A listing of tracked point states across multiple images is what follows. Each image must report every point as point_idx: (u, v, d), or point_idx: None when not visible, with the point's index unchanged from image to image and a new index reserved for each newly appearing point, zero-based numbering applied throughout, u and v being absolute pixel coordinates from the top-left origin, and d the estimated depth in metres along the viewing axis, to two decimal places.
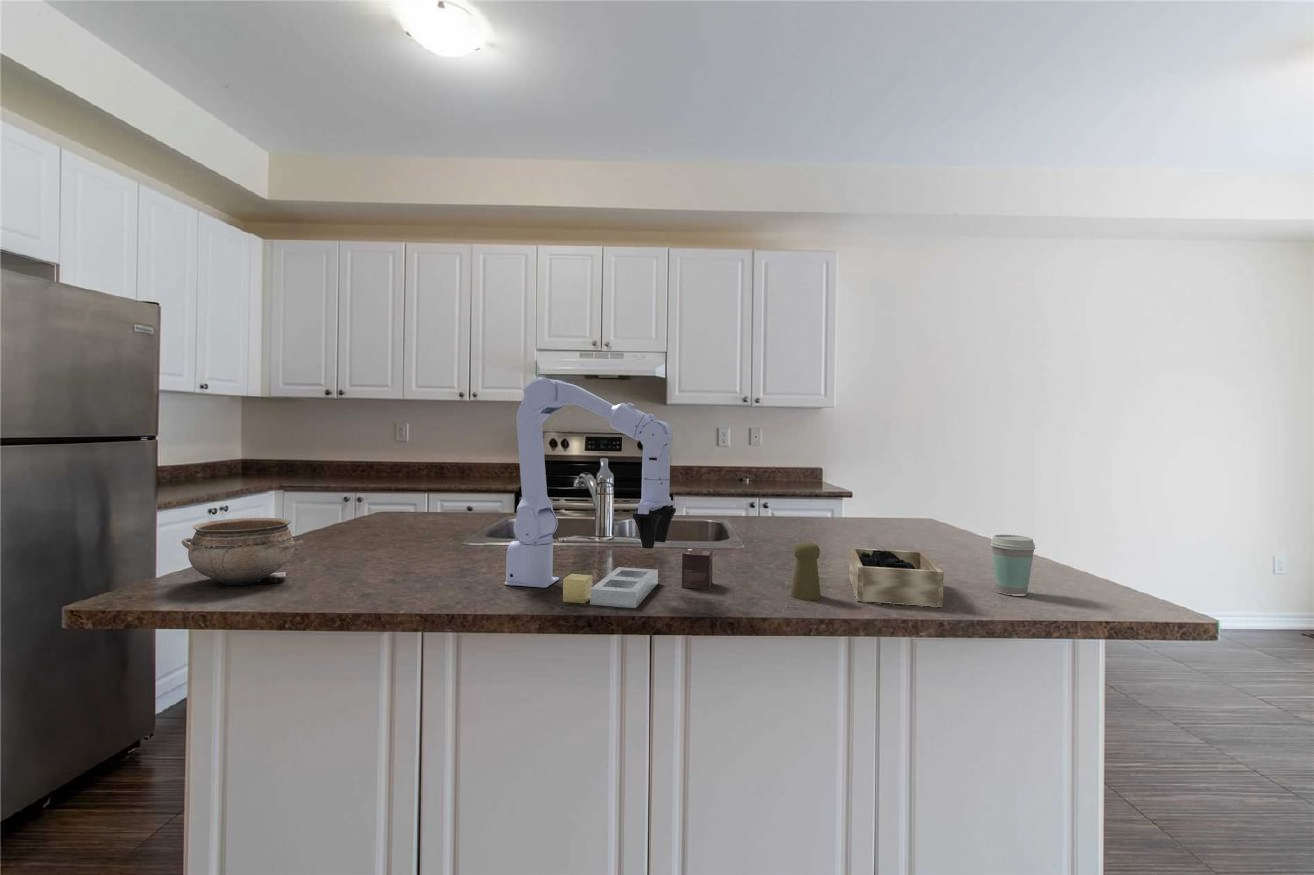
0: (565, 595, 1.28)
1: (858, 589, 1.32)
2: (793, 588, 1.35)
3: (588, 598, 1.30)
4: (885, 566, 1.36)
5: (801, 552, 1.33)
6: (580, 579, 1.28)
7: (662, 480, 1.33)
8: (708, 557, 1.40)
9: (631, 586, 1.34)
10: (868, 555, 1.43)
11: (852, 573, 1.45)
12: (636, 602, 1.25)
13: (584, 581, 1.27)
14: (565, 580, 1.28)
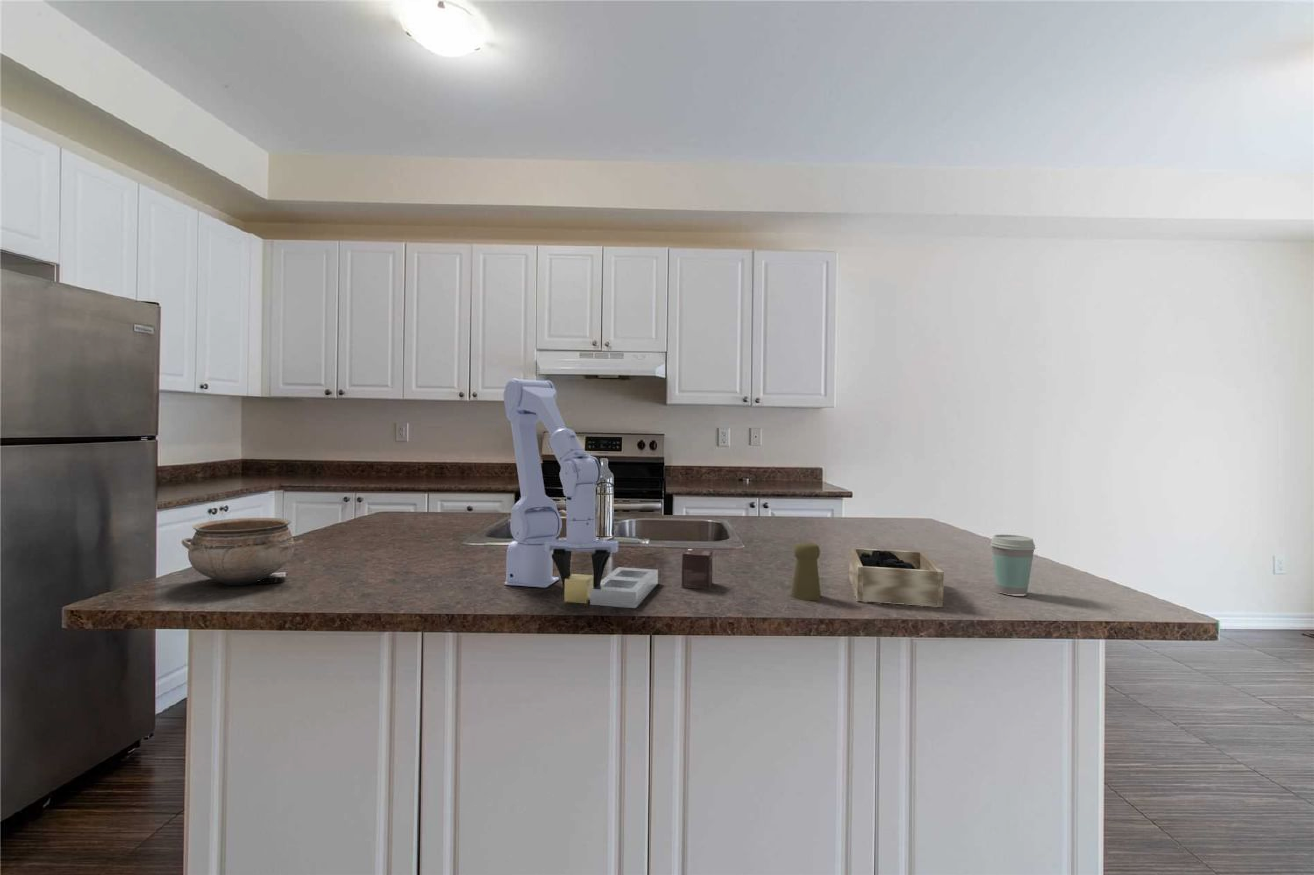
0: (566, 595, 1.28)
1: (858, 589, 1.32)
2: (793, 588, 1.35)
3: (589, 598, 1.30)
4: (884, 566, 1.36)
5: (801, 552, 1.33)
6: (581, 579, 1.28)
7: (568, 520, 1.28)
8: (708, 557, 1.40)
9: (631, 586, 1.34)
10: (868, 555, 1.43)
11: (852, 573, 1.45)
12: (636, 602, 1.25)
13: (585, 581, 1.27)
14: (566, 580, 1.28)
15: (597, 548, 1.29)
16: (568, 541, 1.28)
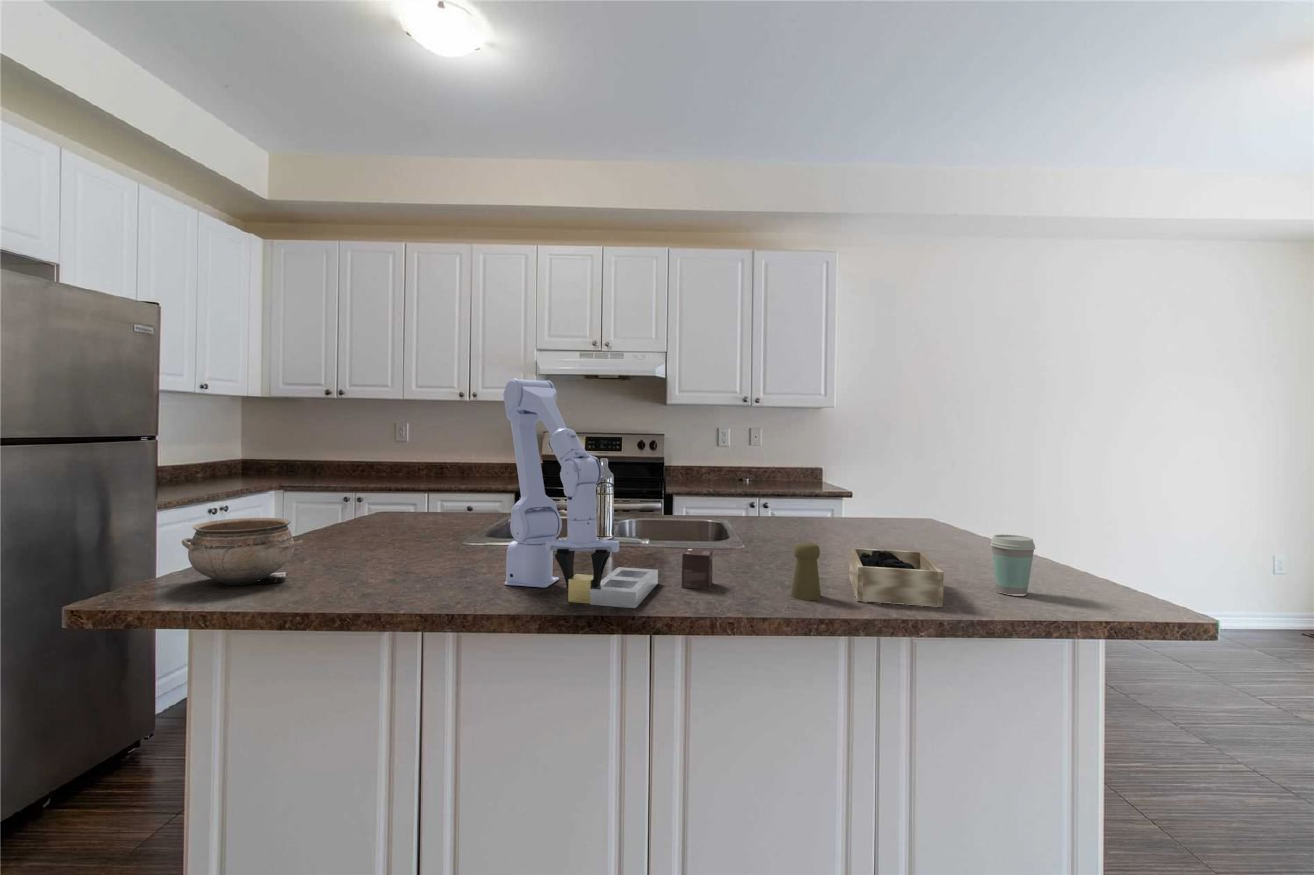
0: (570, 595, 1.28)
1: (858, 589, 1.32)
2: (793, 588, 1.35)
3: None
4: (884, 567, 1.36)
5: (801, 552, 1.33)
6: (585, 579, 1.28)
7: (569, 520, 1.28)
8: (708, 557, 1.40)
9: (631, 586, 1.34)
10: (868, 556, 1.43)
11: (852, 573, 1.45)
12: (636, 602, 1.25)
13: (589, 581, 1.27)
14: (570, 580, 1.28)
15: (598, 548, 1.29)
16: (569, 541, 1.28)
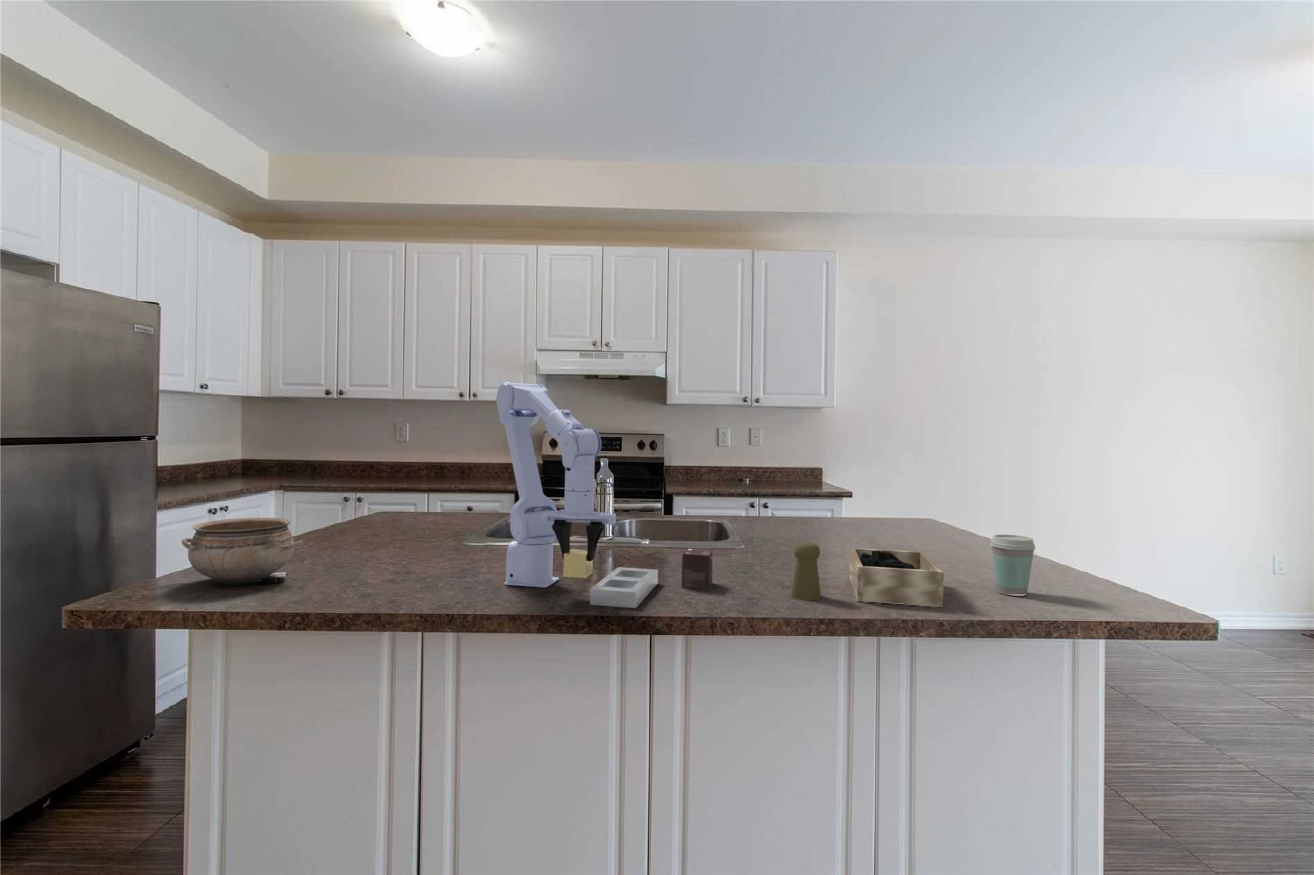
0: (565, 570, 1.28)
1: (858, 589, 1.32)
2: (793, 588, 1.35)
3: (588, 573, 1.30)
4: None
5: (801, 552, 1.33)
6: (581, 554, 1.28)
7: (566, 491, 1.28)
8: (708, 557, 1.40)
9: (631, 586, 1.34)
10: (868, 556, 1.42)
11: (852, 573, 1.45)
12: (636, 602, 1.25)
13: (585, 556, 1.28)
14: (566, 554, 1.28)
15: (595, 520, 1.29)
16: (566, 512, 1.28)
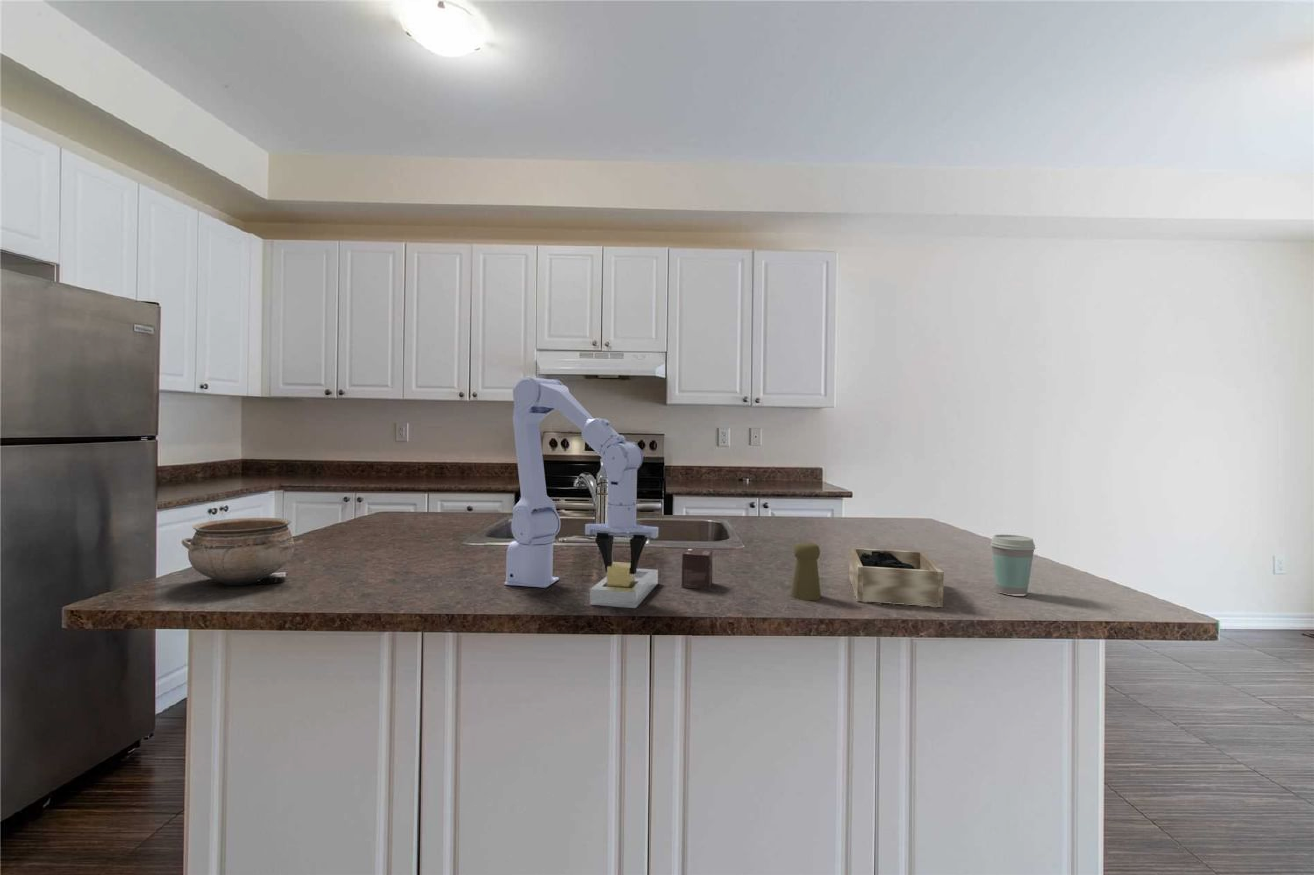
0: (609, 583, 1.29)
1: (858, 589, 1.32)
2: (793, 588, 1.35)
3: (631, 586, 1.30)
4: None
5: (801, 552, 1.33)
6: (624, 567, 1.29)
7: (609, 504, 1.29)
8: (708, 557, 1.40)
9: None
10: (868, 556, 1.42)
11: (852, 573, 1.45)
12: (636, 602, 1.25)
13: (628, 568, 1.28)
14: (609, 567, 1.29)
15: (637, 533, 1.30)
16: (609, 525, 1.29)
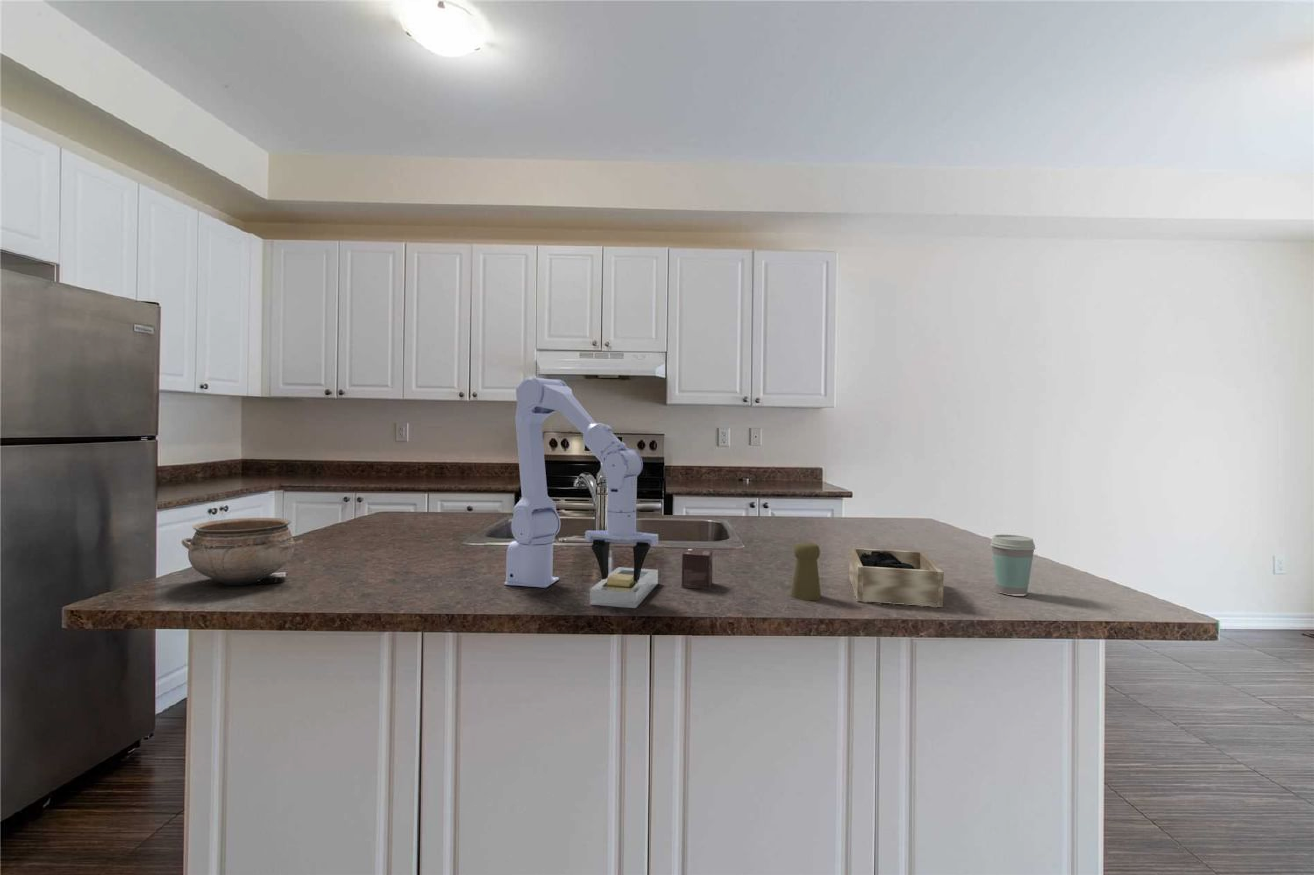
0: None
1: (858, 589, 1.32)
2: (793, 588, 1.35)
3: None
4: None
5: (801, 552, 1.33)
6: (624, 579, 1.29)
7: (609, 512, 1.29)
8: (708, 557, 1.40)
9: None
10: (868, 556, 1.42)
11: (852, 573, 1.45)
12: (636, 602, 1.25)
13: (628, 581, 1.28)
14: (609, 580, 1.29)
15: (637, 540, 1.30)
16: (609, 532, 1.29)
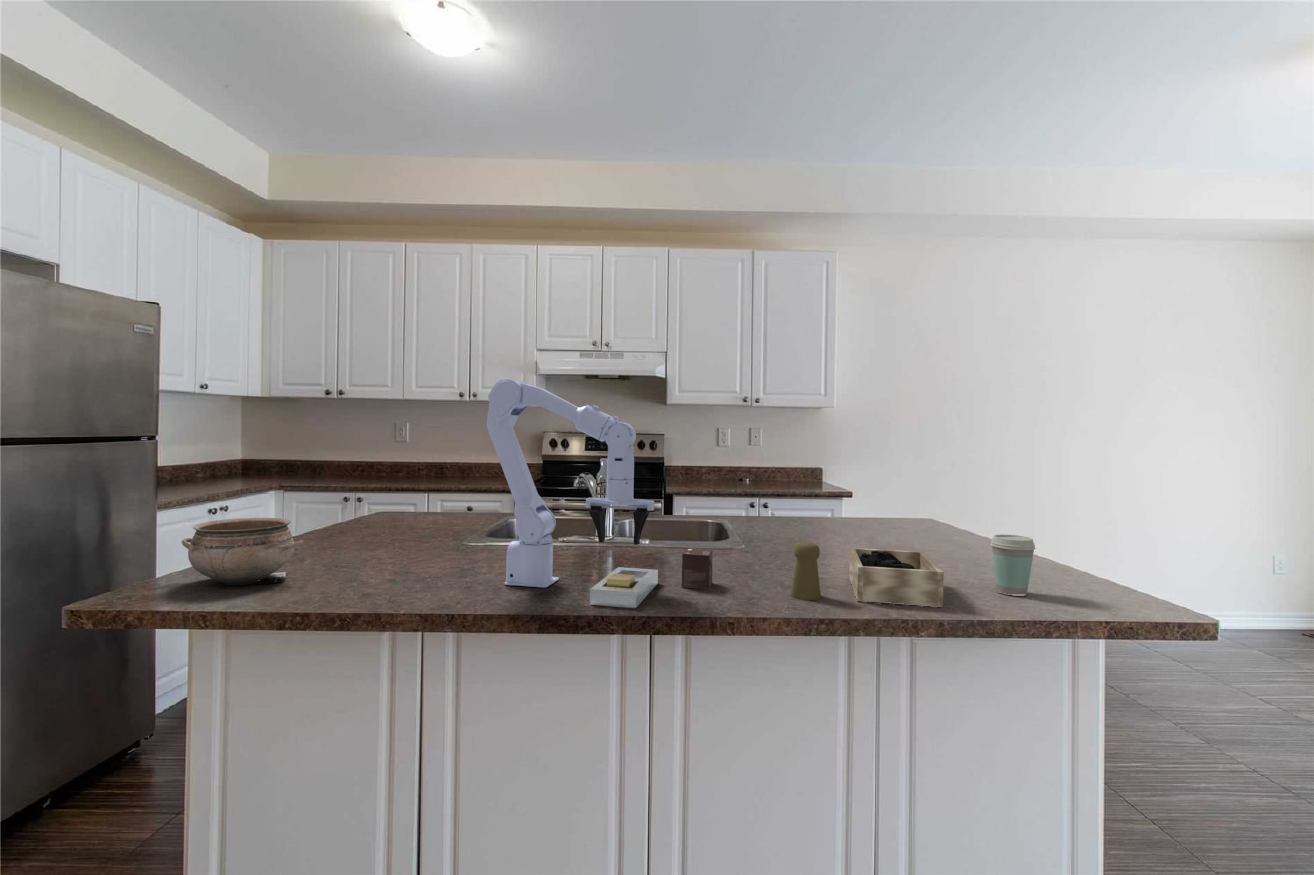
0: None
1: (858, 589, 1.32)
2: (793, 588, 1.35)
3: None
4: None
5: (801, 552, 1.33)
6: (624, 579, 1.29)
7: (608, 479, 1.38)
8: (708, 557, 1.40)
9: None
10: (868, 556, 1.42)
11: (852, 573, 1.45)
12: (636, 602, 1.25)
13: (628, 581, 1.28)
14: (609, 580, 1.29)
15: (634, 506, 1.39)
16: (608, 499, 1.39)
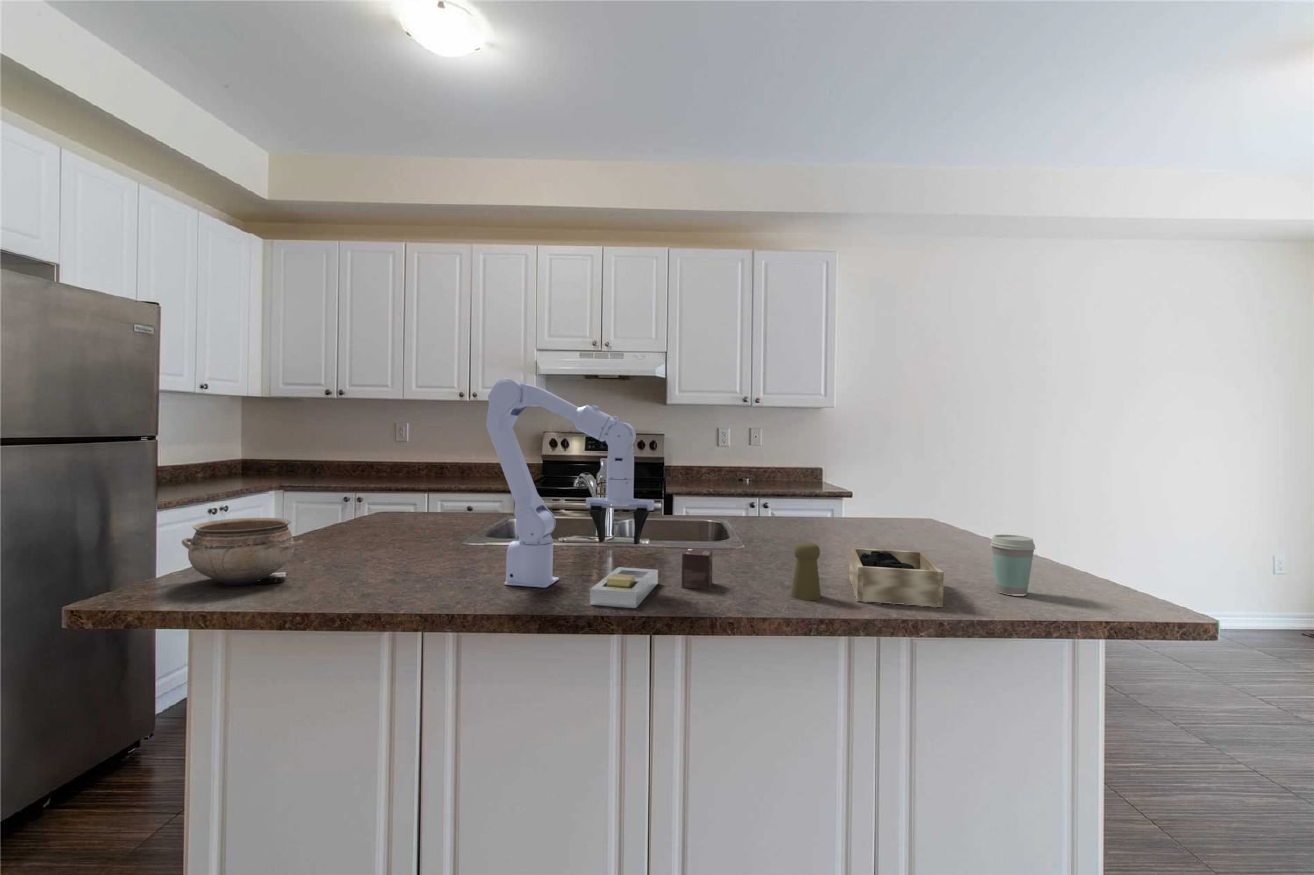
0: None
1: (858, 589, 1.32)
2: (793, 588, 1.35)
3: None
4: None
5: (801, 552, 1.33)
6: (624, 579, 1.29)
7: (608, 479, 1.39)
8: (708, 557, 1.40)
9: None
10: (868, 556, 1.42)
11: (852, 573, 1.45)
12: (636, 602, 1.25)
13: (628, 581, 1.28)
14: (609, 580, 1.29)
15: (635, 506, 1.40)
16: (608, 498, 1.39)
